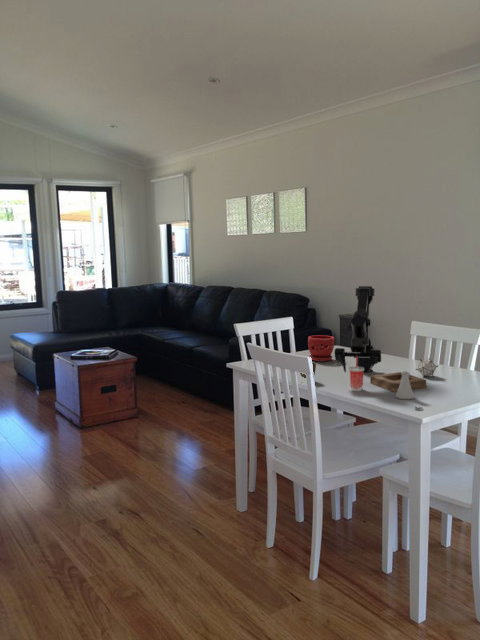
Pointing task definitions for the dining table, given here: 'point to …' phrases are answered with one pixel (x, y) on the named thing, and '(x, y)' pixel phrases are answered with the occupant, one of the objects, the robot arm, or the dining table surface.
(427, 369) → the spiky beige ball
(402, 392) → the flask
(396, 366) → the dining table surface
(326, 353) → the plant pot
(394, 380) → the base board
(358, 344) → the robot arm
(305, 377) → the cup
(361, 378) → the beverage cup
